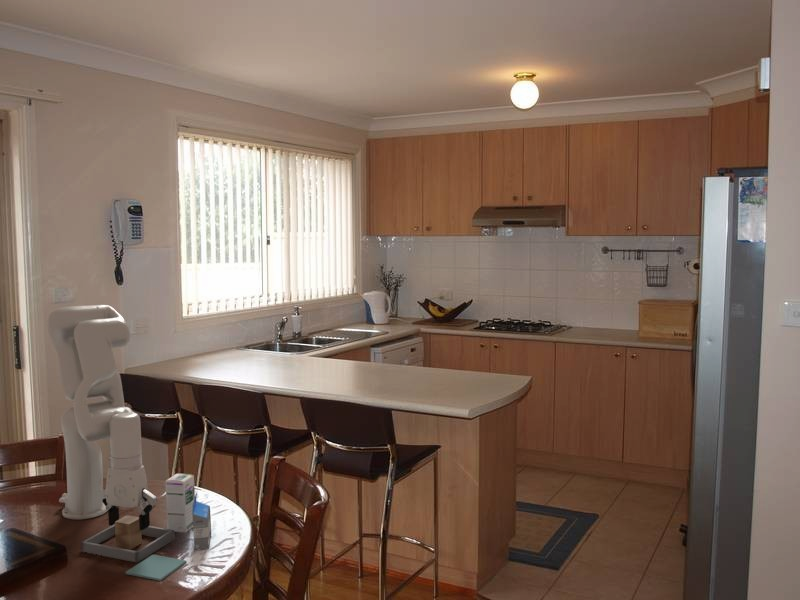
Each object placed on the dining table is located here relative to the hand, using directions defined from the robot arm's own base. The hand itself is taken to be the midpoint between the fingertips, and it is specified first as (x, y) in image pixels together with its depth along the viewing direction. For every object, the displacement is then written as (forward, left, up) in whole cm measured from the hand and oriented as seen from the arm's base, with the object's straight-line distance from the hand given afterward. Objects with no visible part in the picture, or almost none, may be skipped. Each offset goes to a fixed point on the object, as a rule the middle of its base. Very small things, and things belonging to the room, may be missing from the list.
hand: (129, 525), depth 186 cm
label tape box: (+16, +8, -6) cm, 19 cm away
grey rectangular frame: (-1, 0, -6) cm, 5 cm away
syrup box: (+5, +14, -6) cm, 16 cm away
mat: (+14, -8, -6) cm, 17 cm away
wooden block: (-1, 0, -6) cm, 6 cm away
